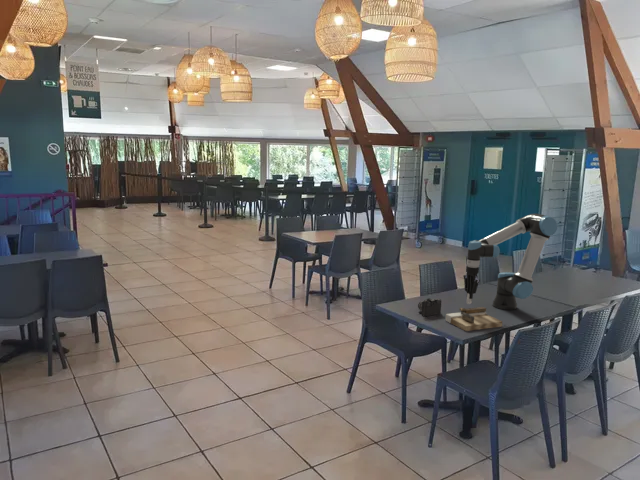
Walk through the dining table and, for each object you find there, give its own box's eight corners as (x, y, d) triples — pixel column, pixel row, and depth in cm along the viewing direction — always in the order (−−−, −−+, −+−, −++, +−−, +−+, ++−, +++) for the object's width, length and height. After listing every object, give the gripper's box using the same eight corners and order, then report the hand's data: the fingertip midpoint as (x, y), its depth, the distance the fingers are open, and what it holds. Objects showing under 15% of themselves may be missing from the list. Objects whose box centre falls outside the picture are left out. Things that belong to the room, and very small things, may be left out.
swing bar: (461, 314, 302) (462, 309, 302) (458, 312, 305) (458, 308, 305) (486, 311, 309) (486, 307, 309) (482, 309, 312) (482, 305, 312)
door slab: (485, 318, 309) (486, 314, 309) (502, 326, 296) (502, 321, 296) (450, 323, 299) (451, 318, 299) (465, 331, 286) (466, 326, 286)
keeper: (464, 318, 299) (465, 312, 298) (473, 323, 292) (474, 317, 291) (462, 318, 298) (462, 313, 298) (471, 323, 291) (471, 317, 290)
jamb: (480, 316, 314) (481, 307, 313) (485, 318, 309) (486, 309, 308) (445, 320, 304) (446, 311, 303) (450, 323, 299) (451, 313, 298)
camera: (429, 309, 325) (431, 294, 324) (442, 313, 316) (443, 298, 315) (413, 312, 318) (414, 296, 316) (425, 317, 309) (426, 301, 307)
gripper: (461, 264, 315) (457, 300, 319) (474, 269, 304) (470, 306, 308) (470, 263, 318) (467, 300, 322) (484, 268, 306) (480, 306, 310)
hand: (468, 303), depth 315 cm, fingers closed
